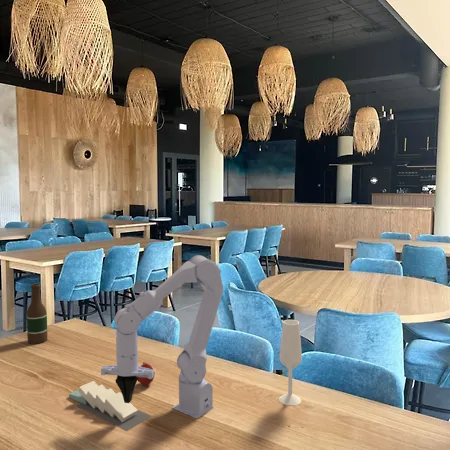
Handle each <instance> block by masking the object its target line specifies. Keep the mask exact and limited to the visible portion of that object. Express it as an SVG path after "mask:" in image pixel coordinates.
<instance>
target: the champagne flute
mask: <svg viewBox="0 0 450 450" xmlns="http://www.w3.org/2000/svg"><path fill="white" fill-rule="evenodd" d="M281 328H282V329H281V339H280V346H279V347H280V348H279V356H278V358H279V361H280V362H281V364H282V365H283V366H284V367H285V368H286V369H288V377H287V379H288V382H287V383H288V385H287V393H285V394H282V395H281V396H280V397H279V398H278V401H279V402H280V404H283V405H286V406H297V405H300V404H301V402H302V399H301V398H300V397H299V396H297V395H296V394H294V393H293V369H295V368H297V367H298V366H299V365H300V364H301V363H302V360H303V355H302V353H303V352H302V340H301V329H300V322H299V321H298V320H297V319H285V320H283V321H282V327H281Z"/></svg>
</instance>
